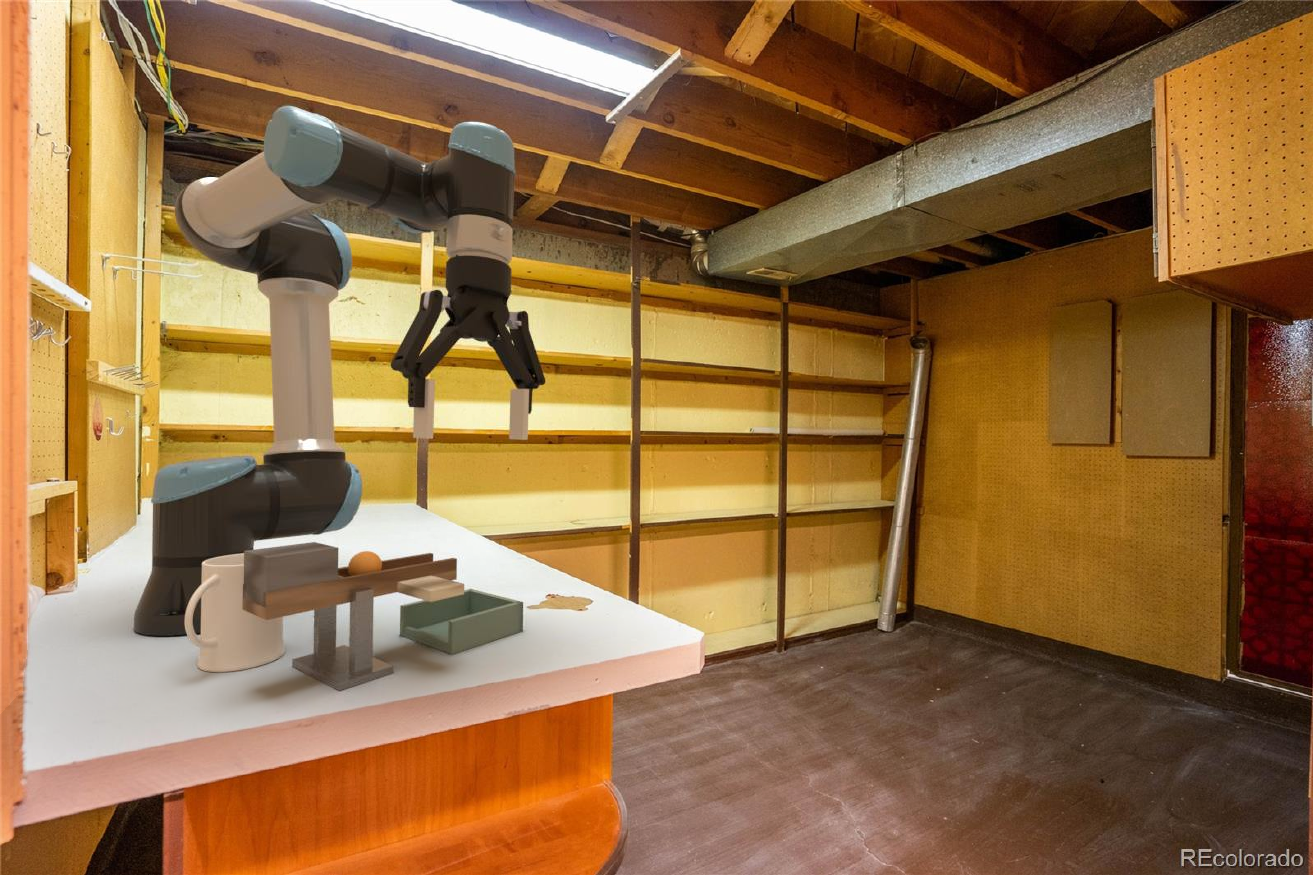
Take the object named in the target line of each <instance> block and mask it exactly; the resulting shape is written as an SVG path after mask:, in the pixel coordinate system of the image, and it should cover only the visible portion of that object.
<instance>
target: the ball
mask: <svg viewBox="0 0 1313 875" xmlns="http://www.w3.org/2000/svg"><path fill="white" fill-rule="evenodd" d="M381 561H382V560H381V558H380V556H379V555H378V554H377V553H375V552H374V551H368V550H365V551H361V552H357V553H356V554H354V555H353V557H352V558H350V560H349V562H348V566H347V567H348V571H349V574H350V576H355V575H360V574H366V573H371V572H377V571H381V569H382V562H381Z"/></svg>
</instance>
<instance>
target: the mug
mask: <svg viewBox="0 0 1313 875" xmlns="http://www.w3.org/2000/svg"><path fill="white" fill-rule="evenodd" d="M243 584H244V553H242V554H233V555H226V556H220V557H215V558H211V559H208V560H205V561H203V562H202V584H201V585H200V586H199V587H198V589H197V590H196V591H195V592H194V594H193V595H192V597H191V599H190V601H189V603H188V606H187V609H186V613H185V630H186V633H187V634H186V635H187V638H188V639H189V641H190V642H191V643H192V644H193V645H195V646H196V647H198V648H200V649H199V655H198V656H199V657H198V661H197V668H198V669H199V670H201V671H203V672H204V671H205V672H209V673H226V672H227V673H228V672H229V673H230V672H237V671H243V670H248V669H252V668H253V669H254V668H257V667H261V666H263V665H267V664H269V663H272V662H274V661H276V660H277V659H279V658H281V657H282V656H284V655H285V650H286V649H285V645H284V630H283V629H284V617H279V618H275V619H270V620H265V619H262V618H260V617H258V616H256V615H254V614H251V613H249V612H247V611H245V610H243V609H242V601H243ZM200 597H201V633H200V637H199V636H198V635H197V633H195V631H194V628H193V613H194V609H195V607H196V604H197V602H198V600H199V599H200Z"/></svg>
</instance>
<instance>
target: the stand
mask: <svg viewBox="0 0 1313 875" xmlns="http://www.w3.org/2000/svg"><path fill="white" fill-rule="evenodd" d="M374 598H375V597H374V589H372V588H369V587H367V588H362V589H357V590H352V591H350V602H349V636H348V637H349V639H348V642H349V643H348V645H349V646H348V645H346V644H343V645H340V646H337V610H338V609H337V606H338V605H335V606H331V607H326V608H321V609H317V610H313V653H310V654H307V655H303V656H300V657H295V658H292V659H291V660H292V663H291V664H292V665H291V666H292V667H293V668H295V669H297V670H299V671H301V672H303V673H304V674H306V675H308V676H310V677H312V678H314V679H316V680H317V681H319V682H321V683H324V684H325V685H328V686H329V687H330V688H333V689H335V690H337V691H338V692H340V691H343V690H346V689H349V688H352V687H355V686H359V685H361V684H365V683H367V682H370V681H372V680H373V681H374V680H376V679H379V678H382V677H384V676H385V677H386V676H388V675H391V674H394V665H392V664H390V663H388V662H385V661H383V660H380V659H378V658H377V657H374V656H373V653H374V649H373V648H374V646H373V645H374V602H375V601H374Z"/></svg>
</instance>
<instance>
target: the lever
mask: <svg viewBox="0 0 1313 875" xmlns="http://www.w3.org/2000/svg"><path fill="white" fill-rule="evenodd" d="M381 562H382V569H381V571H377V572H371V573H366V574H360V575H355V576H350V574H349V571H348V566H343V567H339V547H338V546H337V547H336V546H332V545H329V544H325V543H324V544H323V543H320V542H316V541H312V542H303V543H295V544H288V545H280V546H272V547H264V548H256V549H253V550H247V551H244V584H243V601H242V609H243V610H245V611H247V612H249V613H251V614H254V615H256V616H258V617H260V618H262V619H265V620H270V619H275V618H279V617H283V618H284V617H288V616H293V615H297V614H302V613H307V612H311V611H314V610H317V609H321V608H326V607H331V606H335V605H337V606H339V605H345V604H350V591H352V590H357V589H362V588H367V587H369V588H372V589H374V598H376V597H382V596H386V595H391V594H395V593H399V594H403V595H406V596H408V597H413V598H417V599H419V600H421V601H422V600H425V601H429V602H433V601H437V600H441V599H446V598H450V597H454V596H458V595H462V594H464V590H465V583H462V582H458V581H456V580H457V578H458V577H457V575H458V573H457V572H458V570H457V569H458V558H455V557H451V558H446V559H439V560H434V553H432V552H428V553H427V552H426V553H422V554H421V553H420V554H415V555H410V556H403V557H397V558H390V559H385V560H381Z"/></svg>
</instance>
